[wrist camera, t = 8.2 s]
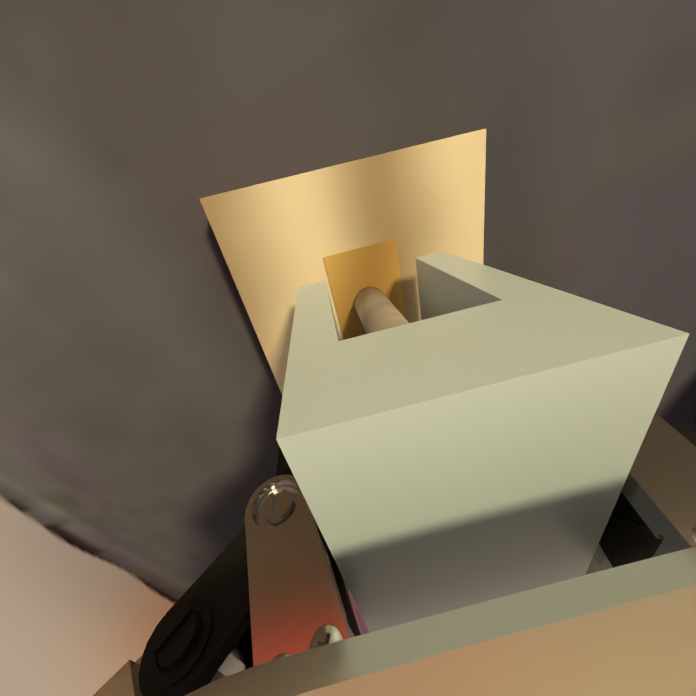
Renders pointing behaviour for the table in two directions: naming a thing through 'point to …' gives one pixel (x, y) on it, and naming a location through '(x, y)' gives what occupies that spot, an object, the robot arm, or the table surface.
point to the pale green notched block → (467, 435)
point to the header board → (351, 236)
